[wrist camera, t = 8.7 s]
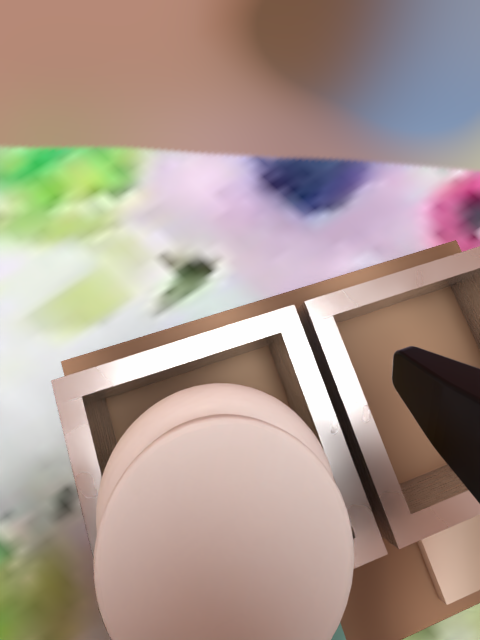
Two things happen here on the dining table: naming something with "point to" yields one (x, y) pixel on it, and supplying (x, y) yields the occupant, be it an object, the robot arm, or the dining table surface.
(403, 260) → the socket board
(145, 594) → the supplement bottle
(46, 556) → the dining table surface
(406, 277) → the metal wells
